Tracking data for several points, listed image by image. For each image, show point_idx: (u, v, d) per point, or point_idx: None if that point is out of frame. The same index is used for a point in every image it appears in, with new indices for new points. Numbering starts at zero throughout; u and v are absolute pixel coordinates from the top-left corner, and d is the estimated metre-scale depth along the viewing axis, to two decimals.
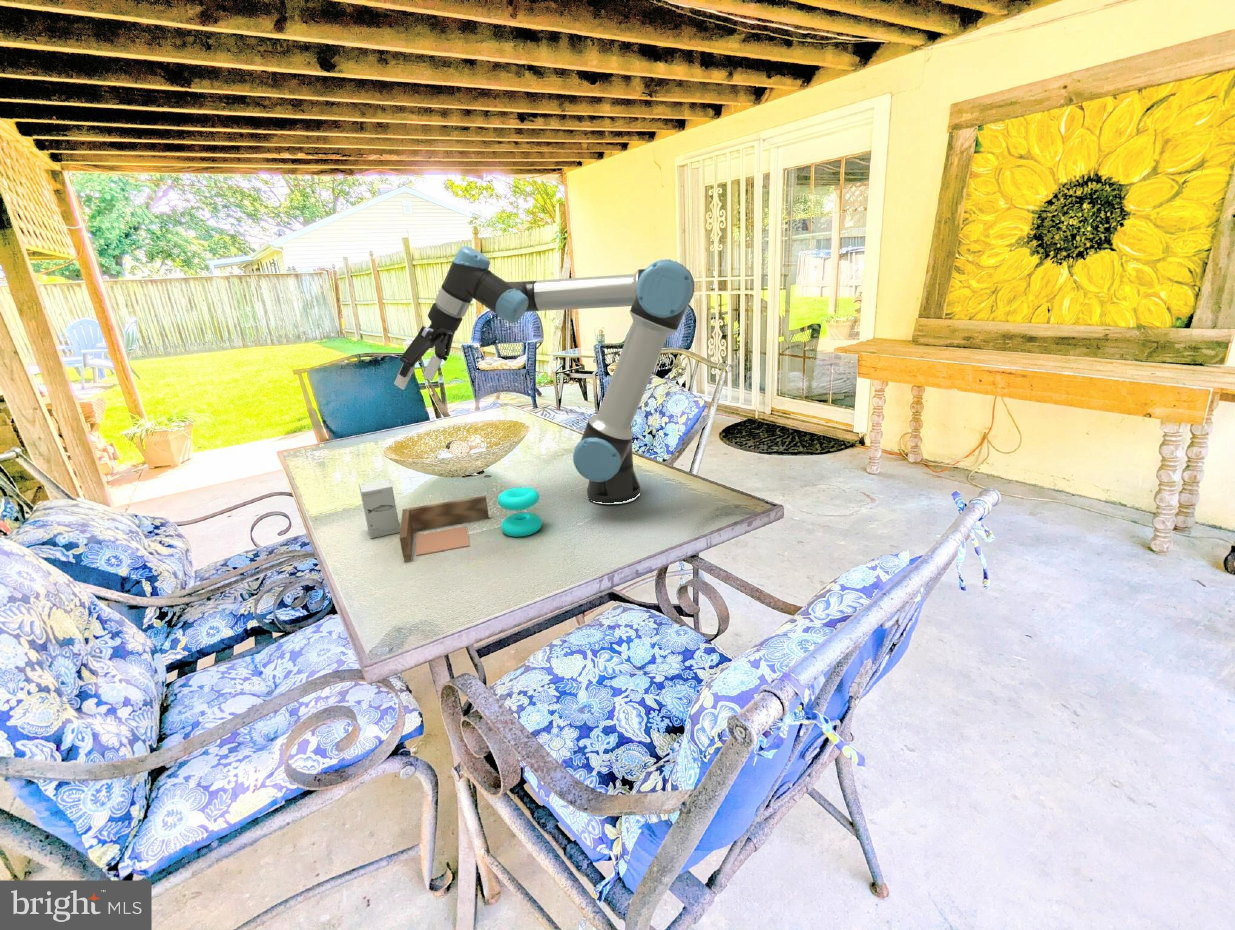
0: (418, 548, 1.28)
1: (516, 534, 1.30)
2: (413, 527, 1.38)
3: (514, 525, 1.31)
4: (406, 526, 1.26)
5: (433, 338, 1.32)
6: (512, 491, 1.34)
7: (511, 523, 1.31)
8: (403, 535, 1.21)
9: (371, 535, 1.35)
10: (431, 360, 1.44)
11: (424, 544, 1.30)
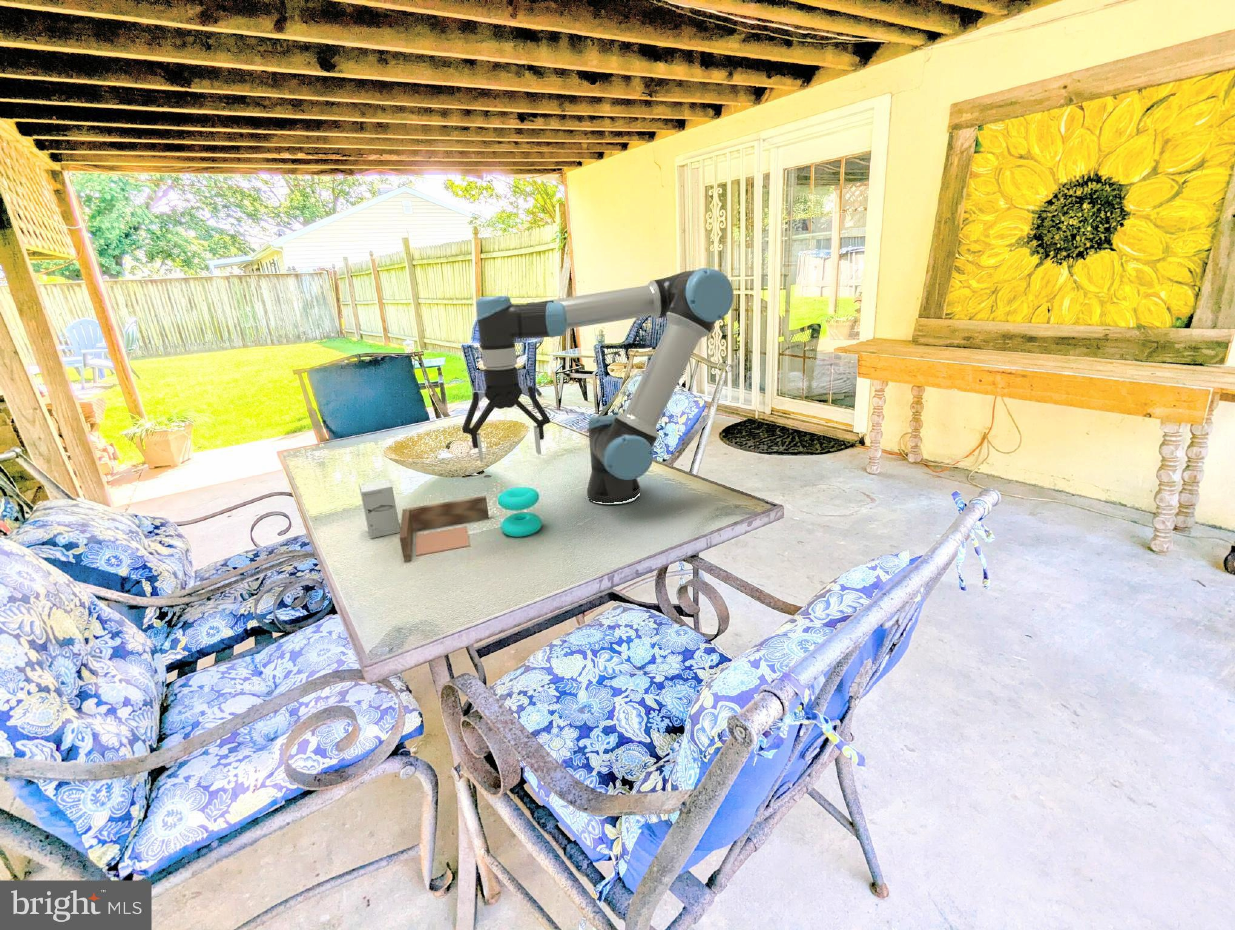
0: (418, 548, 1.28)
1: (516, 534, 1.30)
2: (413, 527, 1.38)
3: (514, 525, 1.31)
4: (406, 526, 1.26)
5: (490, 400, 1.24)
6: (512, 491, 1.34)
7: (511, 523, 1.31)
8: (403, 535, 1.21)
9: (371, 535, 1.35)
10: (534, 432, 1.31)
11: (424, 544, 1.30)
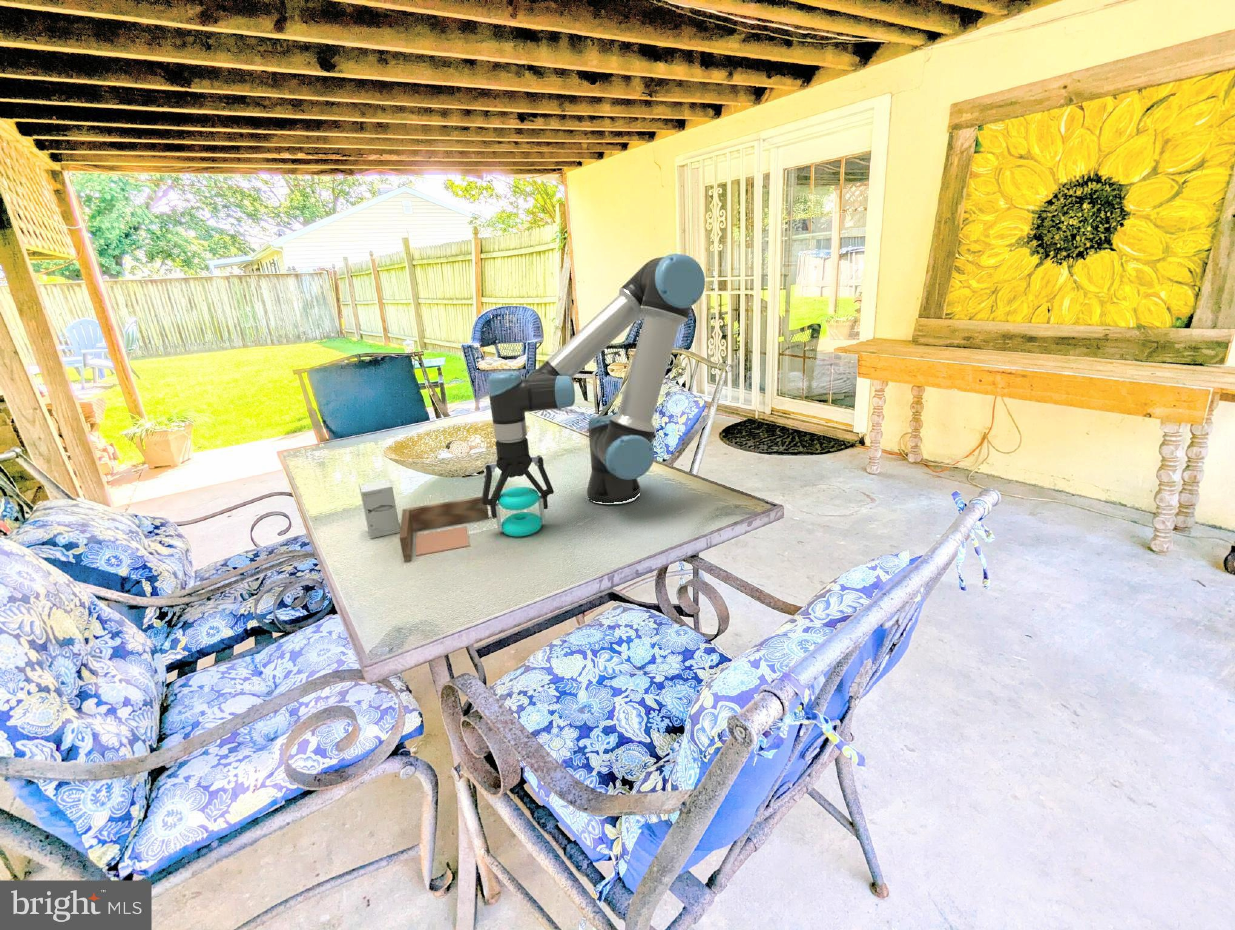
0: (418, 548, 1.28)
1: (516, 534, 1.30)
2: (413, 527, 1.38)
3: (514, 525, 1.31)
4: (406, 526, 1.26)
5: (501, 470, 1.28)
6: (512, 491, 1.34)
7: (511, 523, 1.31)
8: (403, 535, 1.21)
9: (371, 535, 1.35)
10: (538, 501, 1.36)
11: (424, 544, 1.30)
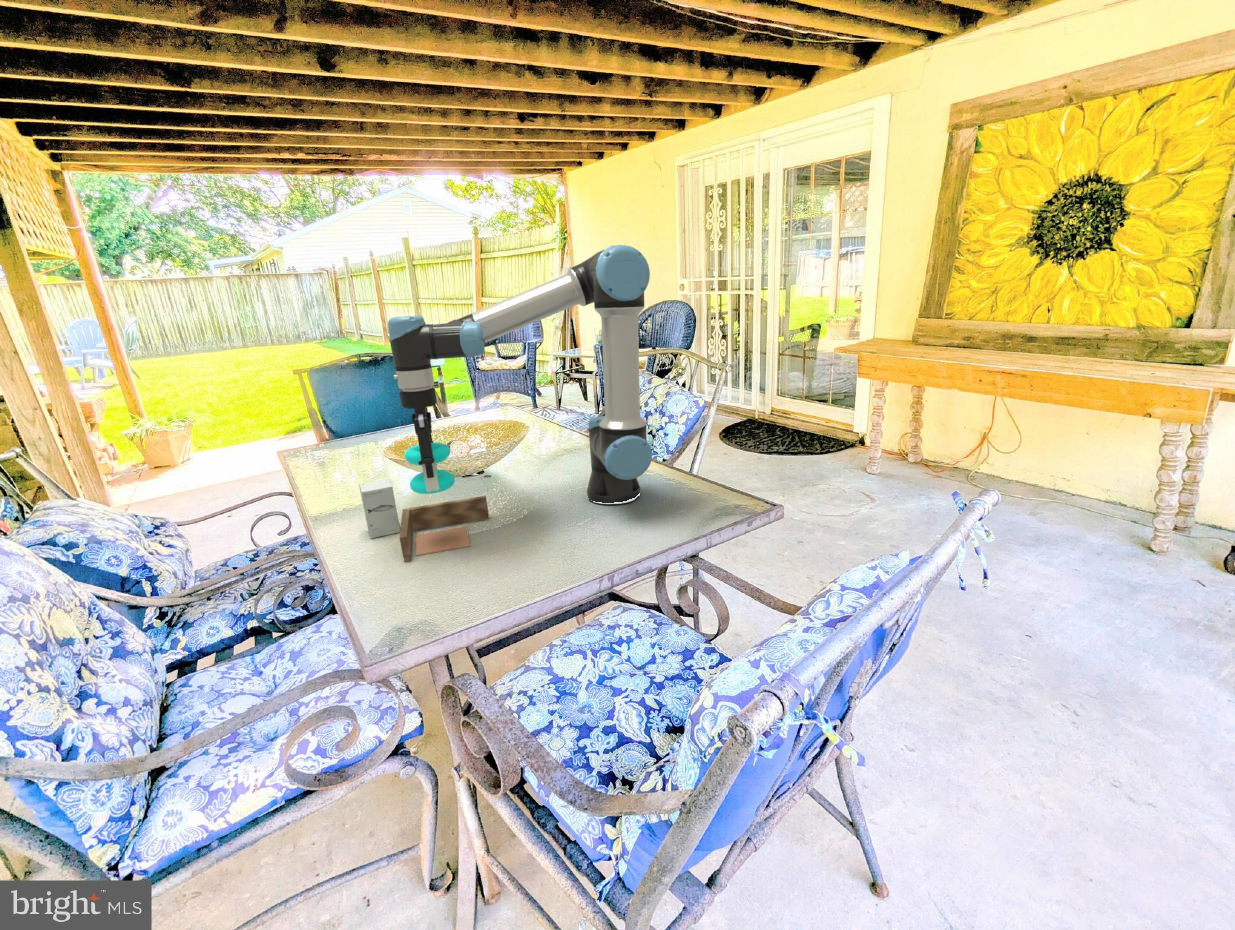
0: (418, 548, 1.28)
1: (453, 483, 1.27)
2: (413, 527, 1.38)
3: (447, 475, 1.26)
4: (406, 526, 1.26)
5: None
6: (416, 451, 1.23)
7: (442, 476, 1.25)
8: (403, 535, 1.21)
9: (371, 535, 1.35)
10: None
11: (424, 544, 1.30)
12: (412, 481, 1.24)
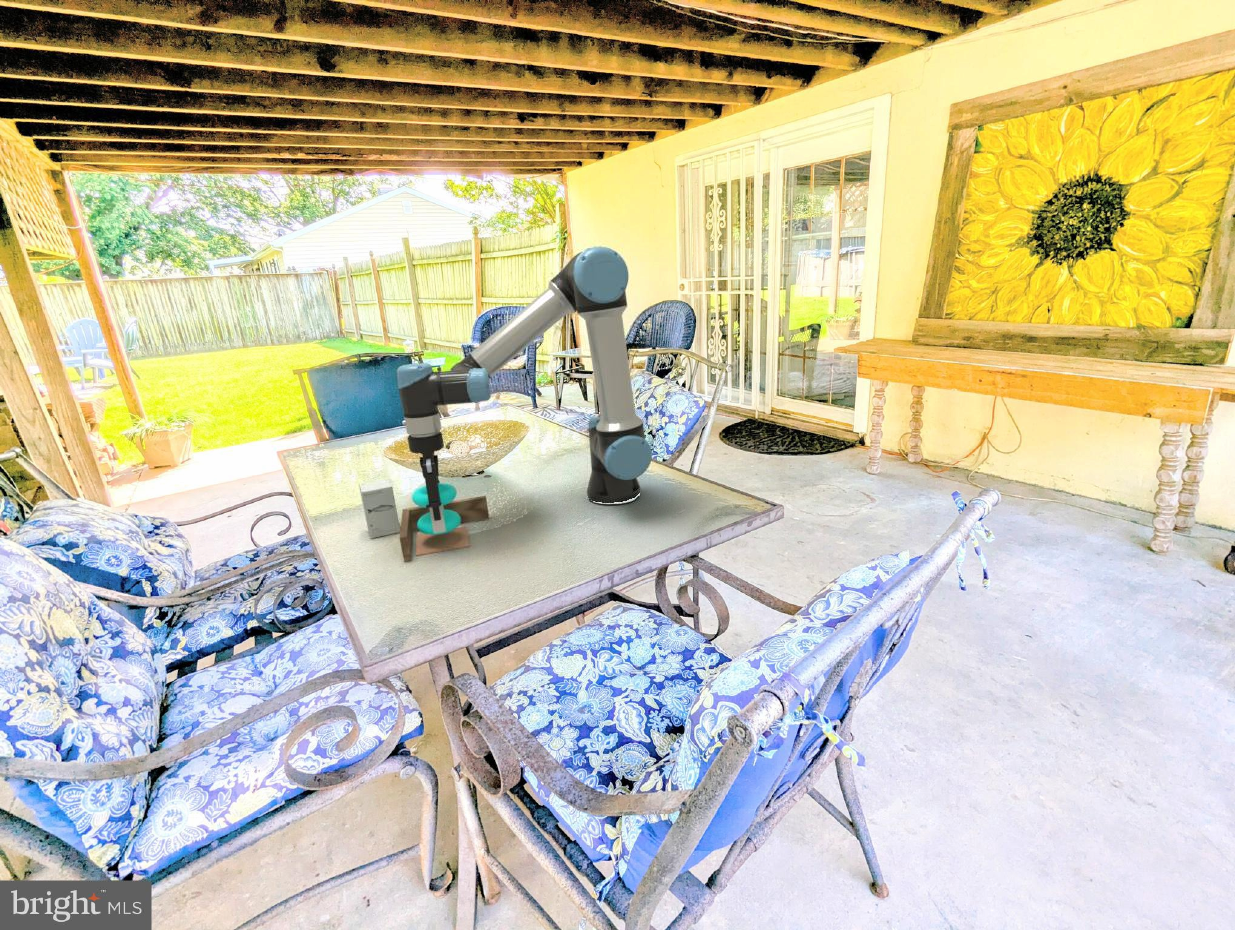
0: (418, 548, 1.28)
1: (459, 523, 1.30)
2: (413, 527, 1.38)
3: (453, 516, 1.29)
4: (406, 526, 1.26)
5: None
6: (423, 493, 1.26)
7: (449, 517, 1.28)
8: (403, 535, 1.21)
9: (371, 535, 1.35)
10: None
11: (424, 544, 1.30)
12: (419, 522, 1.27)
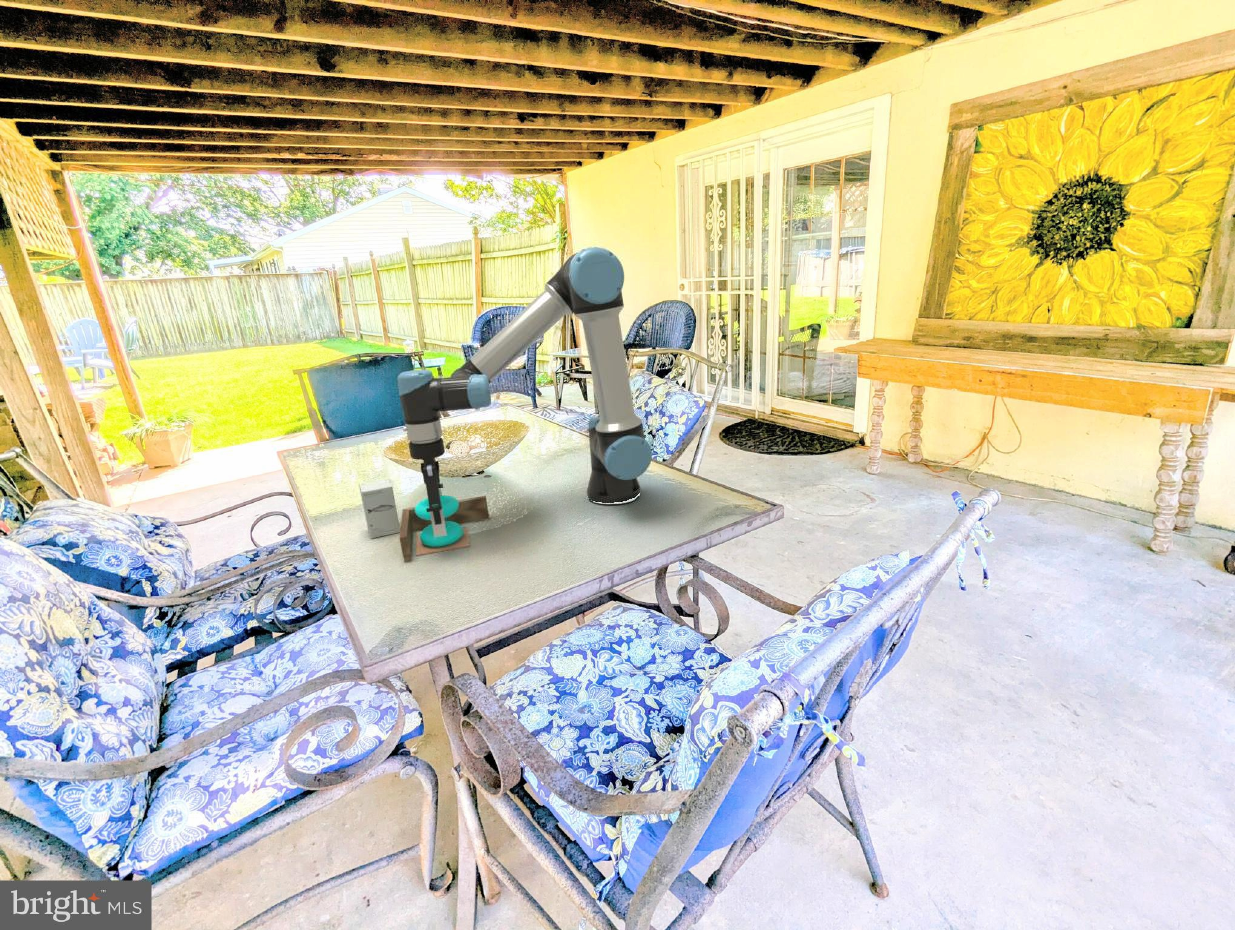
0: (418, 548, 1.28)
1: (461, 535, 1.31)
2: (413, 527, 1.38)
3: (456, 528, 1.30)
4: (406, 526, 1.26)
5: None
6: (426, 505, 1.27)
7: (451, 529, 1.29)
8: (403, 535, 1.21)
9: (371, 535, 1.35)
10: None
11: (424, 544, 1.30)
12: (422, 534, 1.28)
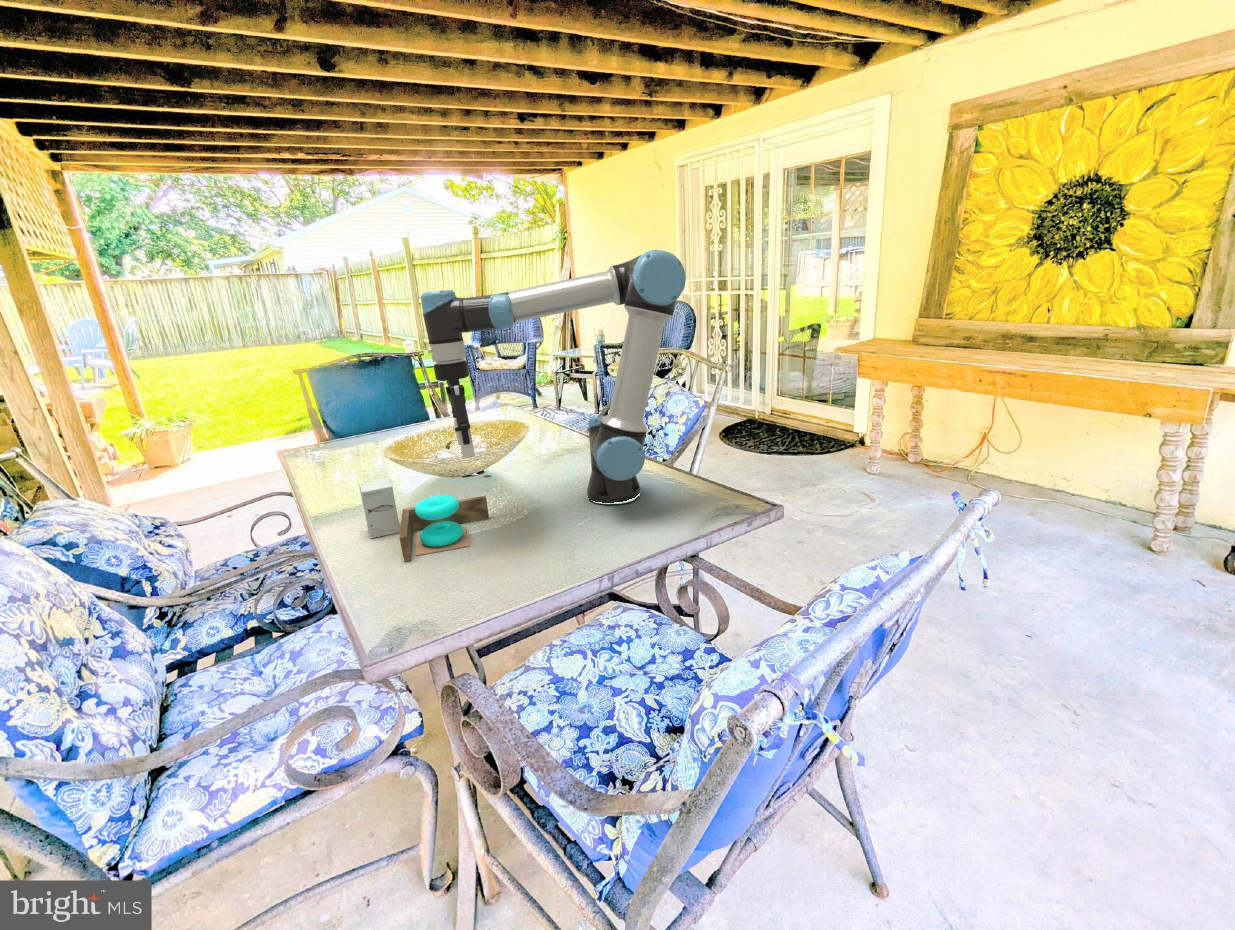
0: (418, 548, 1.28)
1: (461, 535, 1.31)
2: (413, 527, 1.38)
3: (456, 528, 1.30)
4: (406, 526, 1.26)
5: None
6: (426, 505, 1.27)
7: (451, 529, 1.29)
8: (403, 535, 1.21)
9: (371, 535, 1.35)
10: (456, 425, 1.35)
11: (424, 544, 1.30)
12: (422, 534, 1.28)
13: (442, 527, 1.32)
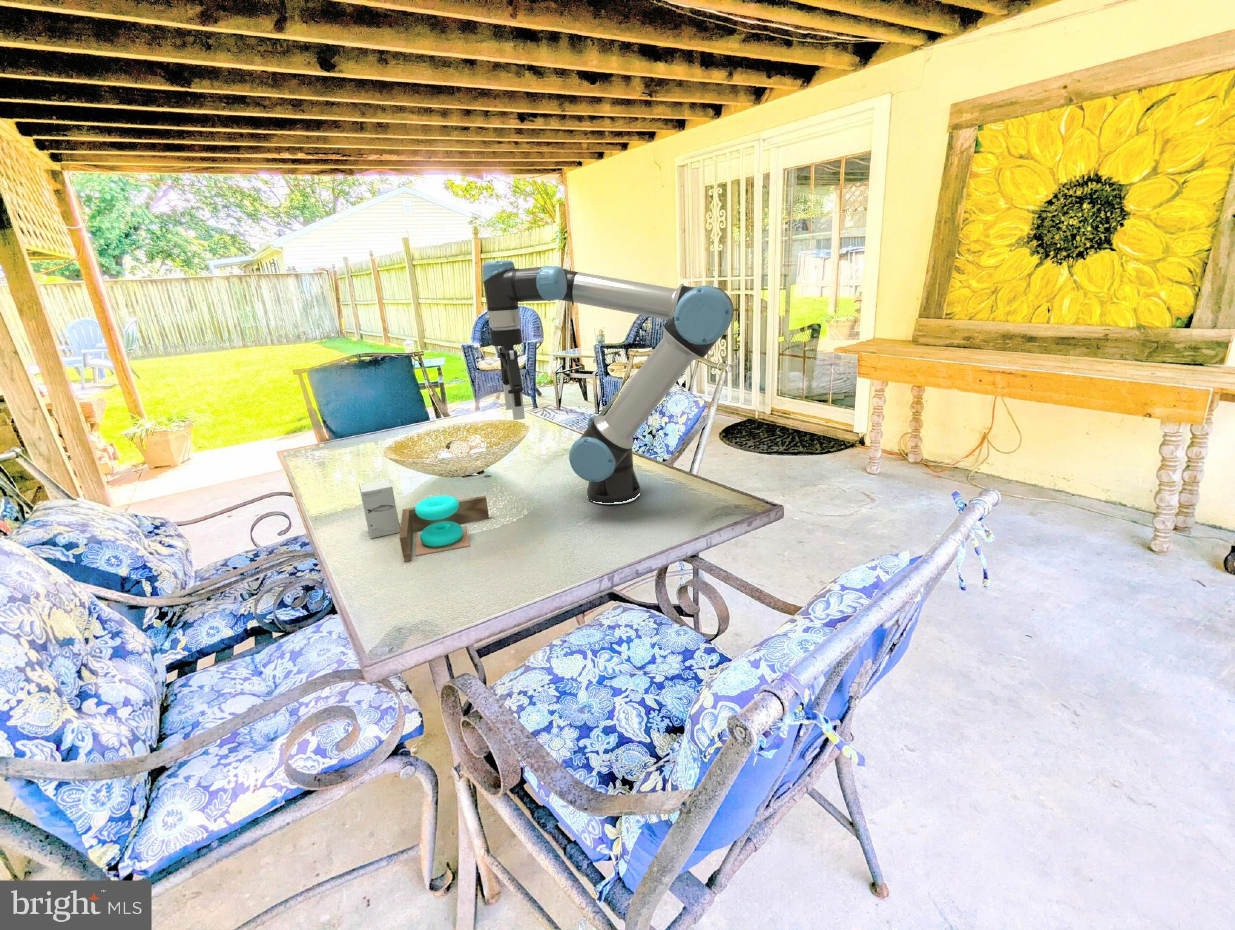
0: (418, 548, 1.28)
1: (461, 535, 1.31)
2: (413, 527, 1.38)
3: (456, 528, 1.30)
4: (406, 526, 1.26)
5: None
6: (426, 505, 1.27)
7: (452, 529, 1.29)
8: (403, 535, 1.21)
9: (371, 535, 1.35)
10: (505, 391, 1.43)
11: (424, 544, 1.30)
12: (422, 534, 1.28)
13: (442, 527, 1.32)
